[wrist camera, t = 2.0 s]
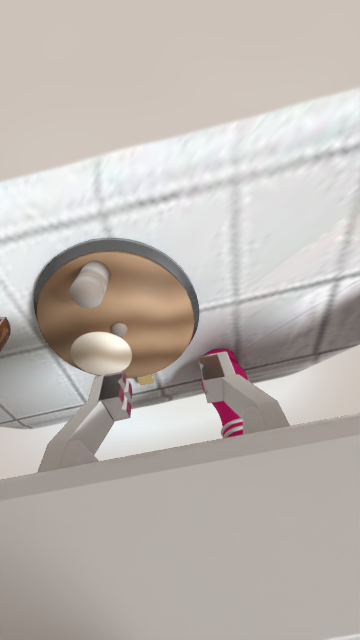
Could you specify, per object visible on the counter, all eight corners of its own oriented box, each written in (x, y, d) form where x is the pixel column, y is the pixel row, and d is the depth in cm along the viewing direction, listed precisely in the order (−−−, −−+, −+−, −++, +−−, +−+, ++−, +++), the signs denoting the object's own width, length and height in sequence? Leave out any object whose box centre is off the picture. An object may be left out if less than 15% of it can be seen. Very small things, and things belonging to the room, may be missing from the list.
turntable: (200, 358, 37) (208, 391, 32) (81, 381, 37) (69, 417, 32) (179, 233, 25) (186, 253, 20) (7, 269, 26) (-31, 297, 20)
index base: (185, 220, 26) (186, 222, 25) (207, 367, 40) (208, 372, 40) (-1, 258, 26) (-6, 261, 25) (87, 391, 41) (86, 395, 40)
